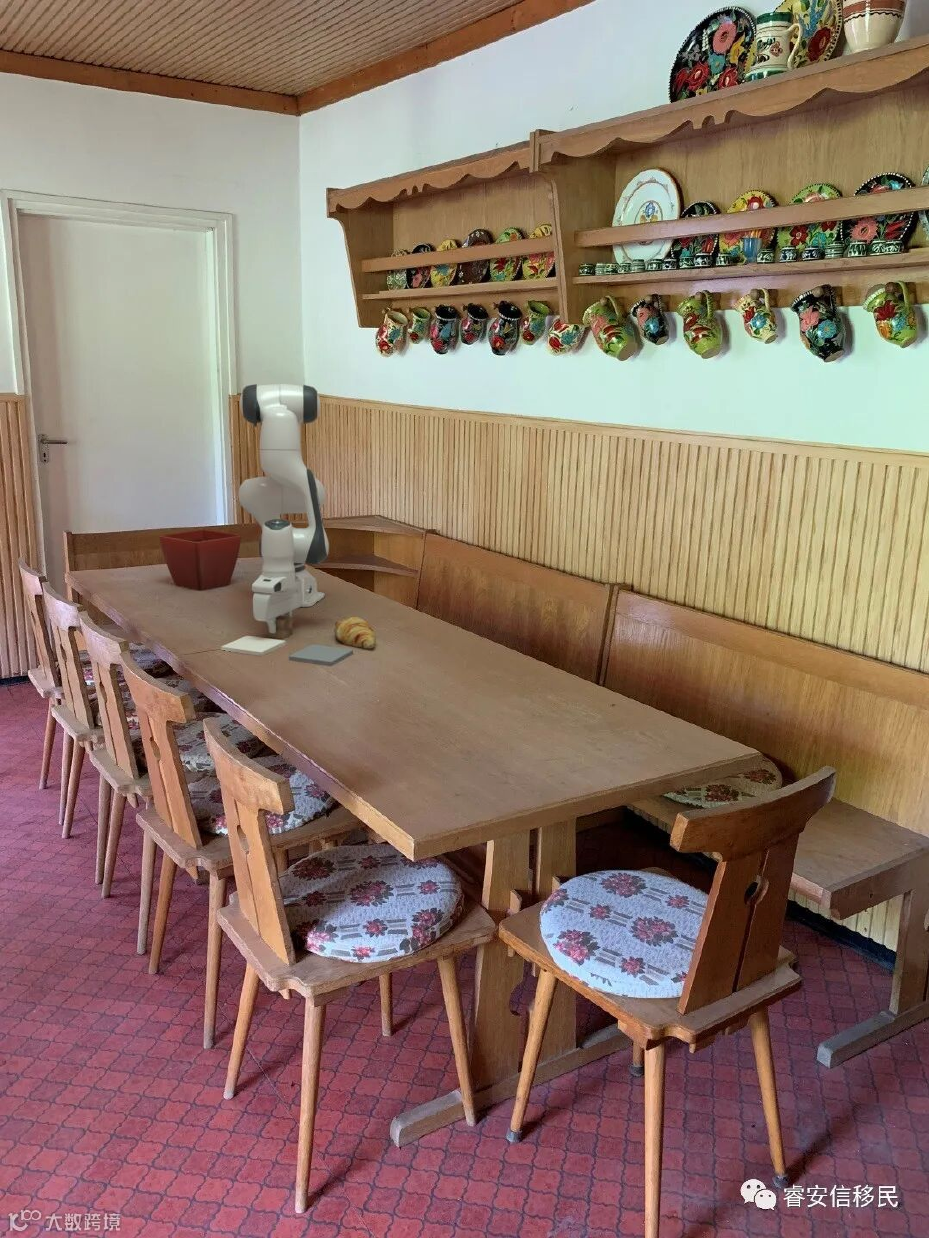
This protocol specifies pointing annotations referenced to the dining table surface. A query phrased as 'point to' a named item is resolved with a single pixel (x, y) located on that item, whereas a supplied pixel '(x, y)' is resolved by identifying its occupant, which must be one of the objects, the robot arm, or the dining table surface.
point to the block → (281, 627)
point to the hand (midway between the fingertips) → (279, 629)
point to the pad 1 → (253, 645)
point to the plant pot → (201, 558)
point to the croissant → (355, 632)
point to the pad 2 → (321, 655)
